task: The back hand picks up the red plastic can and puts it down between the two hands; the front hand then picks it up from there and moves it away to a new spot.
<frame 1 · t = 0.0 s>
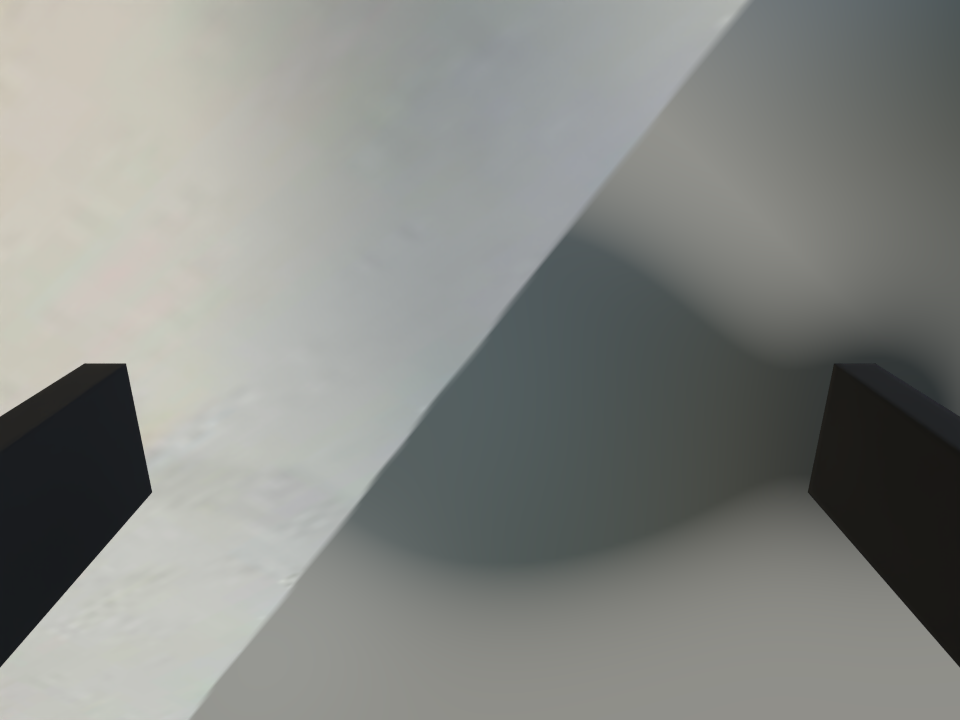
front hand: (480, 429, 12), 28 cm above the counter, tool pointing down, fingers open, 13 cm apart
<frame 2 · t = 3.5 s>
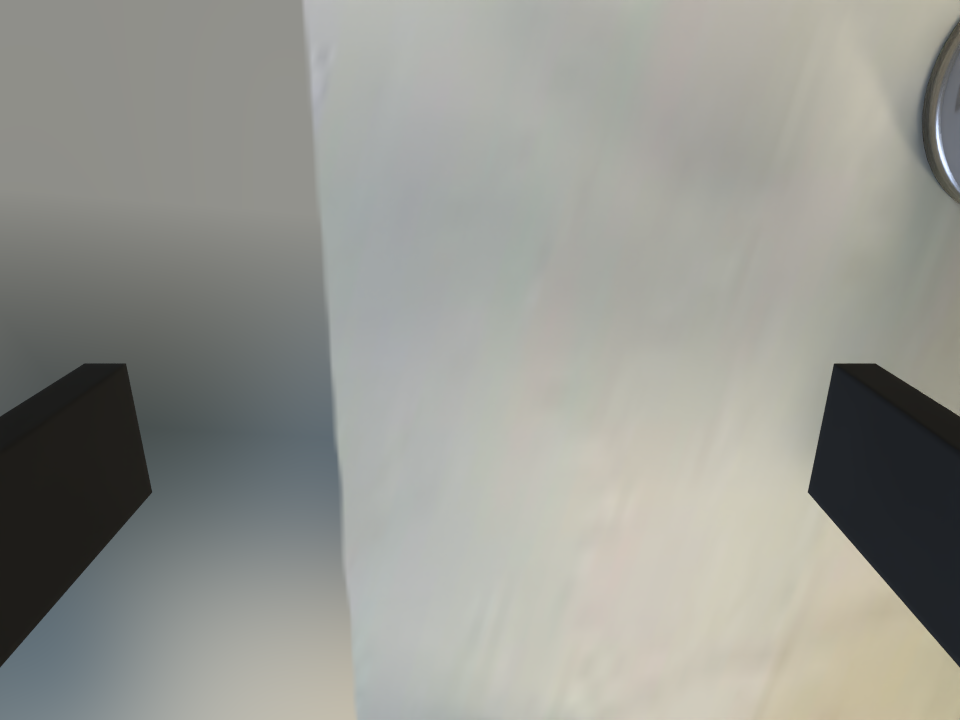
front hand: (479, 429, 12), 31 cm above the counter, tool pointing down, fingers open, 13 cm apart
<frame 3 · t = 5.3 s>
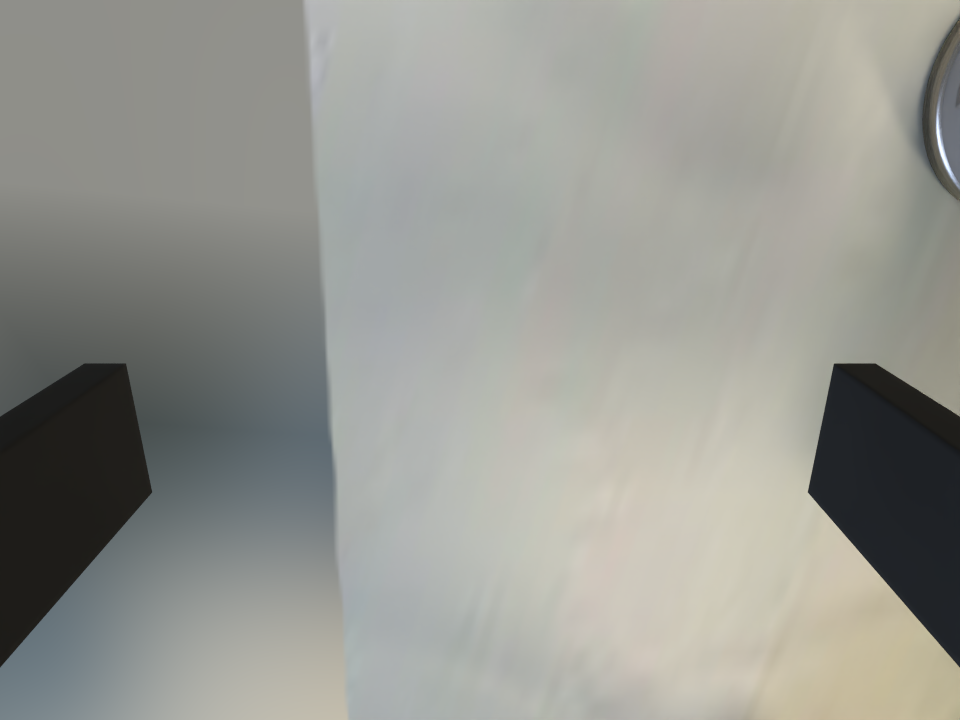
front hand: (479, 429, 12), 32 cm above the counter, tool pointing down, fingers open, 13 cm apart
when the back hand's fingers open (2 cm above the counter, at t = 7.4 s): can drops 1 cm, on the counter.
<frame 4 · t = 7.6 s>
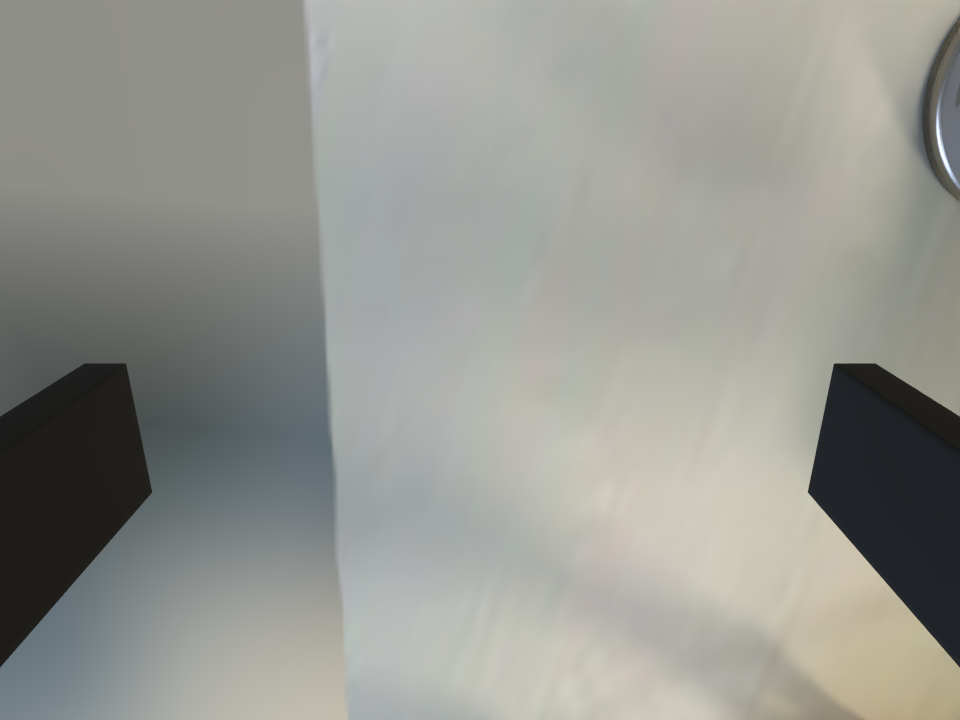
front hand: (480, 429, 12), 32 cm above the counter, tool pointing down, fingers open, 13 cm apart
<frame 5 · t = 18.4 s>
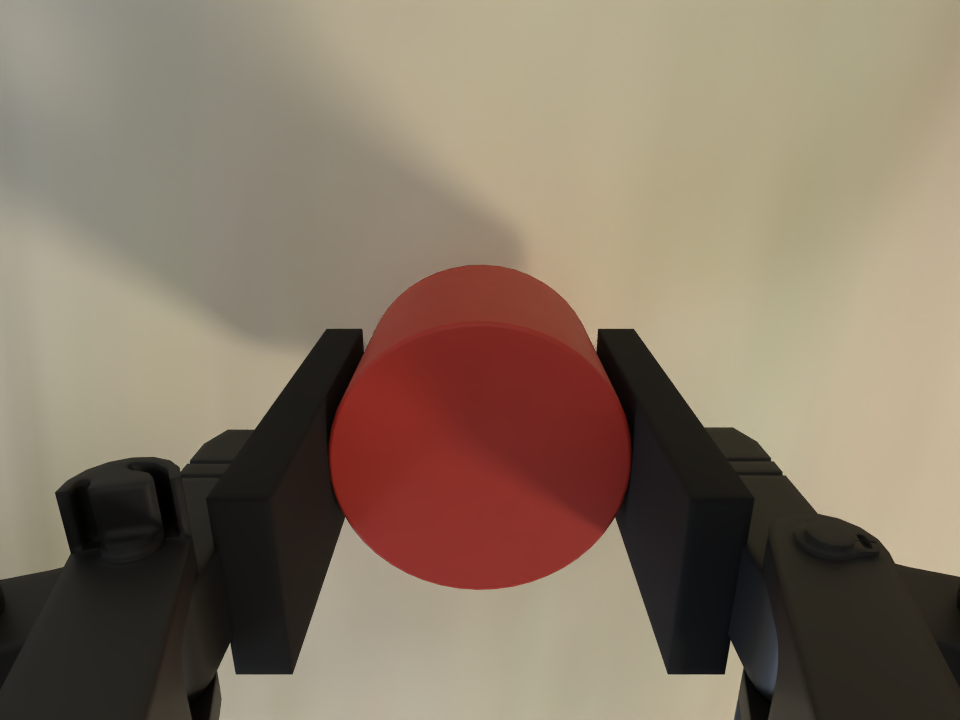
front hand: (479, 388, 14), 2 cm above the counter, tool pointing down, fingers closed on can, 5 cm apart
can: (480, 375, 14), point 2 cm above the counter, touching front hand
when the front hand's fingers open (0 cm above the counter, at t = 20.8 s): can stays where it is, on the counter.
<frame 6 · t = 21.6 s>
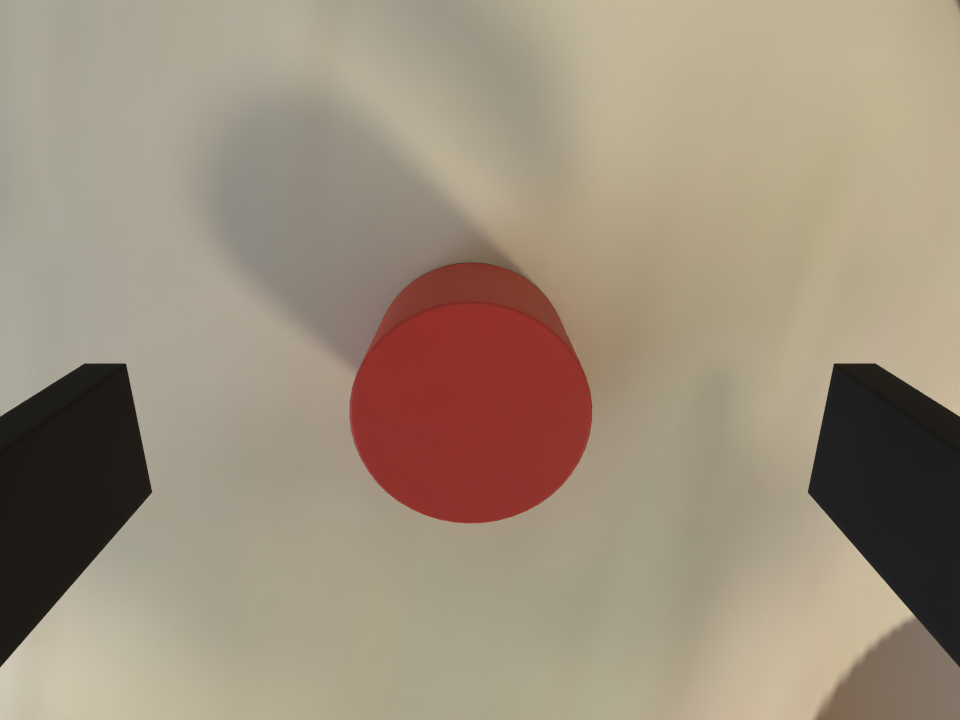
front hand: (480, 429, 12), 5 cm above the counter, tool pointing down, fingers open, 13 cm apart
can: (471, 356, 17), on the counter
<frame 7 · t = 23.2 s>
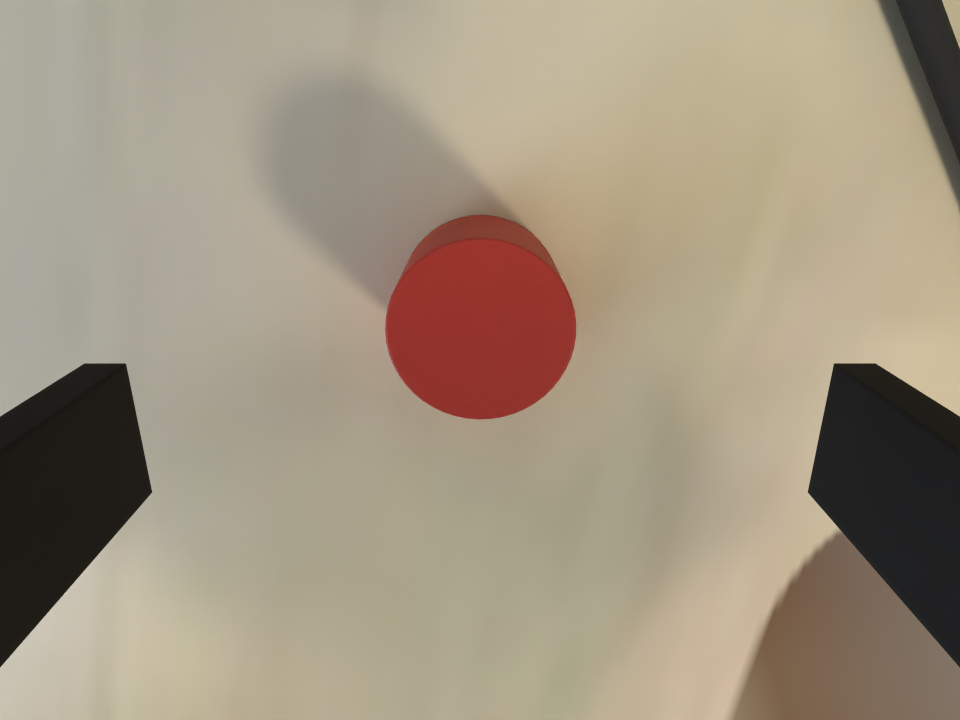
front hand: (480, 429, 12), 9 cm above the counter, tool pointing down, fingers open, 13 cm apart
can: (480, 294, 21), on the counter
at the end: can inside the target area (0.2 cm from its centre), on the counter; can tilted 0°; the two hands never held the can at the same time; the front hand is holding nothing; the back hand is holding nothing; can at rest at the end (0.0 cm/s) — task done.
